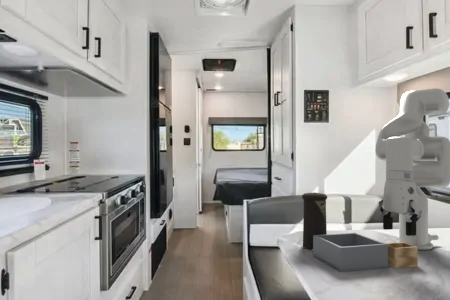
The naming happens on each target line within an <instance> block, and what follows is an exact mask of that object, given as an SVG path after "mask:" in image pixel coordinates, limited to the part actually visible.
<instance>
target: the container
mask: <svg viewBox="0 0 450 300" xmlns="http://www.w3.org/2000/svg"><path fill="white" fill-rule="evenodd" d="M301 197H302V199H303V221H302V222H303V223H302V226H303V227H302V230H303V231H302V247H303V248H304V249H306V250H311V251H313V235H326V234H327V231H328V230H327V200H328V195H326V194H325V193H322V192H321V193H320V192H305V193H303V194H302V195H301Z"/></svg>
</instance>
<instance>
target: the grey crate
mask: <svg viewBox="0 0 450 300" xmlns="http://www.w3.org/2000/svg"><path fill="white" fill-rule="evenodd" d="M385 243H386V242H382V241H379V240H376V239H375V238H371V237H369V236H365V235H362V234H360V233H357V232H346V233H345V232H344V233H329V234H326V235H313V250H312V252H313V253H312V254H313V255H312V256H313V257H314V258H316V259H317V260H319V261H321V262H323V263H324V264H326V265H328V266H329V267H332V268H333V269H334V270H336V271H338V272H340V273H346V272H355V271H356V272H357V271H366V270H377V269H387V268H389V265H388V244H385Z"/></svg>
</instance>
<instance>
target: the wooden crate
mask: <svg viewBox="0 0 450 300" xmlns="http://www.w3.org/2000/svg"><path fill="white" fill-rule="evenodd" d="M384 243H385V244H388V267H392V268H394V269H404V268H413V267H418V266H419V262H418V261H419V250H418V247H417V246H414V245H411V244H408V243H404V242H397V243H395V242H387V243H386V242H384Z"/></svg>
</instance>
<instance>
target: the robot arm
mask: <svg viewBox="0 0 450 300" xmlns="http://www.w3.org/2000/svg"><path fill="white" fill-rule="evenodd" d="M449 107H450V99H449V96H448V94H447V93H446V91H444V90H443V89H442V88H438V87H437V88H435V87H434V88H425V89H424V88H423V89H414V90H410V91H406V92H405V93H403V94H402V95H401V98H400V100H399V102H398V108H397V109H398V110H397V112H396V113H397V114H396V117H394V118H393V119H391V120H390V121H389V122H387V123H386V124H384V126H383V127H382V128H381V129H380V130H379V132H378V136H377V140H376V143H375V155H376V157H377V158H378V160H381V161H385V181H384V188H383V196H382V197H383V198H382V199H381V200H380V201H378V207H379V208H380V209H379V211H380V212H381V216H382V217H383V218H382V229H383V230H386V231H387V230H393V229H394V228H393V227H394V225H393V224H394V221H393V220H394V218H393V214H398V215H399V216H398V217H399V218H398V227H399V228H398V229H399V230H398V234H399V236H398V237H399V238H397V239H395V240H394V243H397V242H404V243H408V244H411V245H414V246H417V247H418V251H427V250H432V249H433V248H434V244H433V243H432V241H437V240H439V236H438V234H430V233H429V200H428V197H427V195H426V194H425V192H424V191H423V190H422V189H421V188H437V189H438V188H439V189H440V188H443V189H444V188H447V187H448V186H450V139H449V138H448V137H445V136H437V135H436V136H430V129H431V128H430V126H429V125H428V124H427V123H426V122H425V121H424V116H432V115H433V116H436V115H445V114H446V113H447V112H448V110H449Z"/></svg>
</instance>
